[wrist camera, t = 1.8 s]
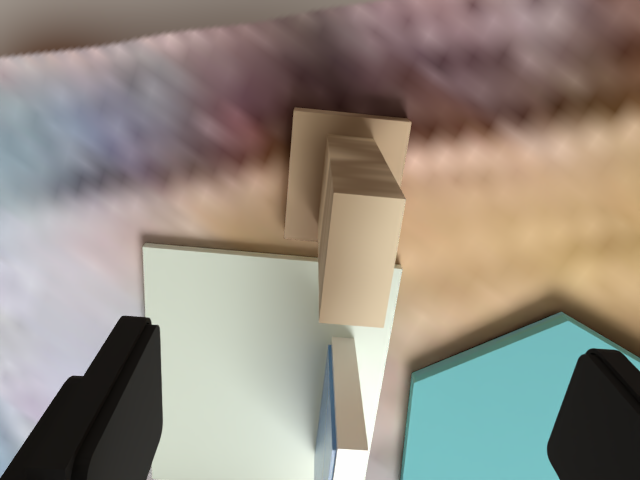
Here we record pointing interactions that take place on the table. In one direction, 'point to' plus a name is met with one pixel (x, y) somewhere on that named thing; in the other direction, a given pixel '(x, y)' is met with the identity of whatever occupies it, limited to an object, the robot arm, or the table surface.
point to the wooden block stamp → (348, 207)
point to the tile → (341, 417)
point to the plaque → (495, 404)
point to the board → (247, 361)
